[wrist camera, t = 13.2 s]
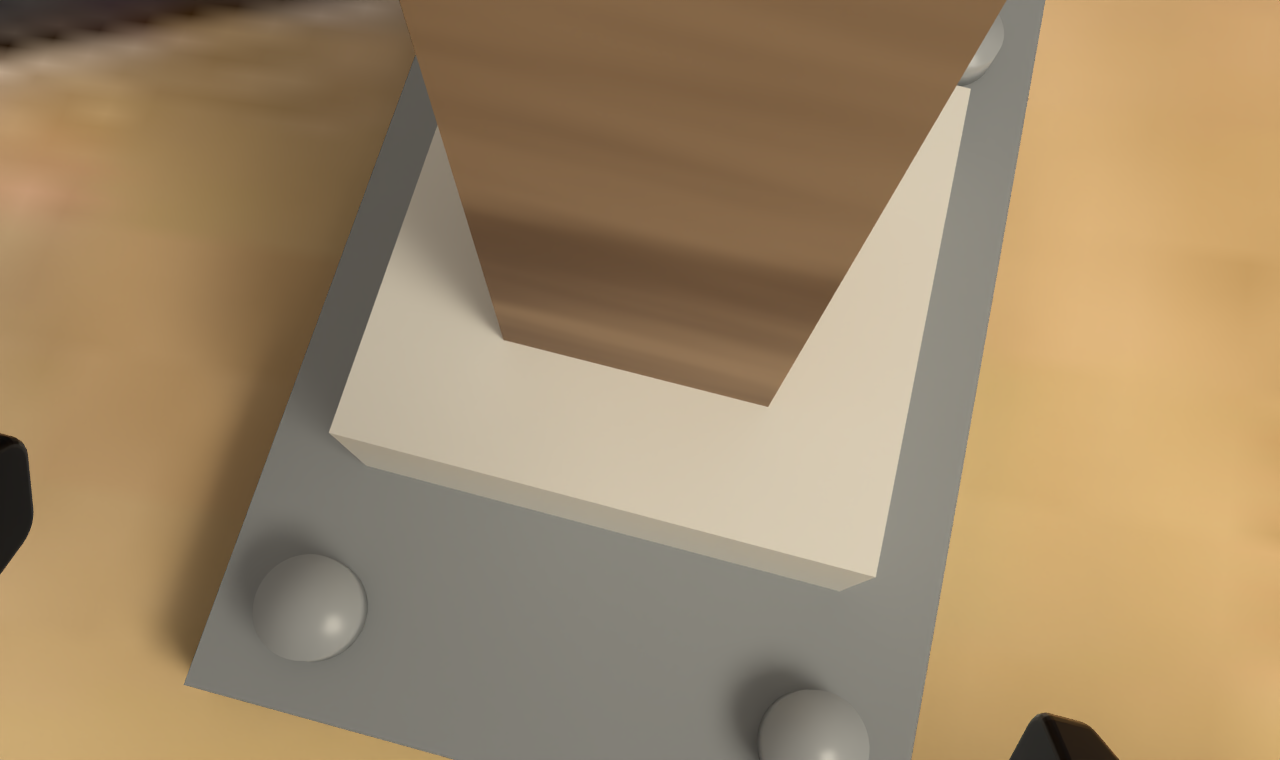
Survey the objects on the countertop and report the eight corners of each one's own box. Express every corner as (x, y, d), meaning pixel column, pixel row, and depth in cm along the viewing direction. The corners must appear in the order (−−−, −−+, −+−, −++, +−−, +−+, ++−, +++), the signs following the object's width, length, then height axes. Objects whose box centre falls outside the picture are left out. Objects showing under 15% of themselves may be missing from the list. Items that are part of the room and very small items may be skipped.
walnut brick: (767, 406, 19) (1039, -56, 7) (503, 340, 19) (331, -221, 7) (823, 166, 20) (1128, -562, 8) (575, 106, 21) (529, -688, 9)
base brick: (874, 869, 21) (937, 913, 17) (206, 684, 21) (113, 685, 17) (1026, 28, 26) (1102, -90, 22) (490, -100, 27) (470, -238, 23)
